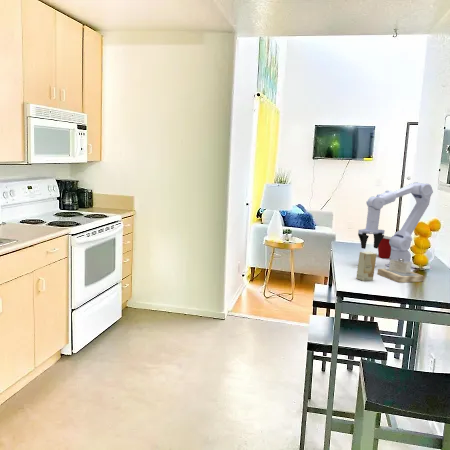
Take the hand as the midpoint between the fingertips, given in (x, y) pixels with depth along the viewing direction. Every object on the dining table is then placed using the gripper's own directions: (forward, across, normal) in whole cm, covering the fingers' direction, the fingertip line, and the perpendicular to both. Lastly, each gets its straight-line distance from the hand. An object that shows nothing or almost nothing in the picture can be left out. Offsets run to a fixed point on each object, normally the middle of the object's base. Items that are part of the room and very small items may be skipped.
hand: (369, 248), depth 222 cm
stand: (+9, -2, +20) cm, 22 cm away
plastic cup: (+10, -26, -17) cm, 33 cm away
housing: (+7, -2, +20) cm, 21 cm away
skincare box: (+10, +18, +20) cm, 29 cm away
